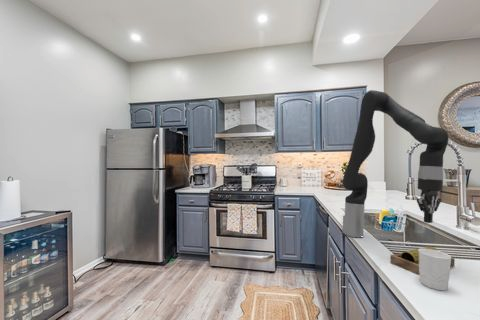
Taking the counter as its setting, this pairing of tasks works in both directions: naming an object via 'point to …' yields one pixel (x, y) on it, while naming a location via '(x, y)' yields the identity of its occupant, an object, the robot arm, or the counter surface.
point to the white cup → (434, 268)
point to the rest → (409, 263)
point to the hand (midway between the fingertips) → (427, 222)
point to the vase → (414, 254)
